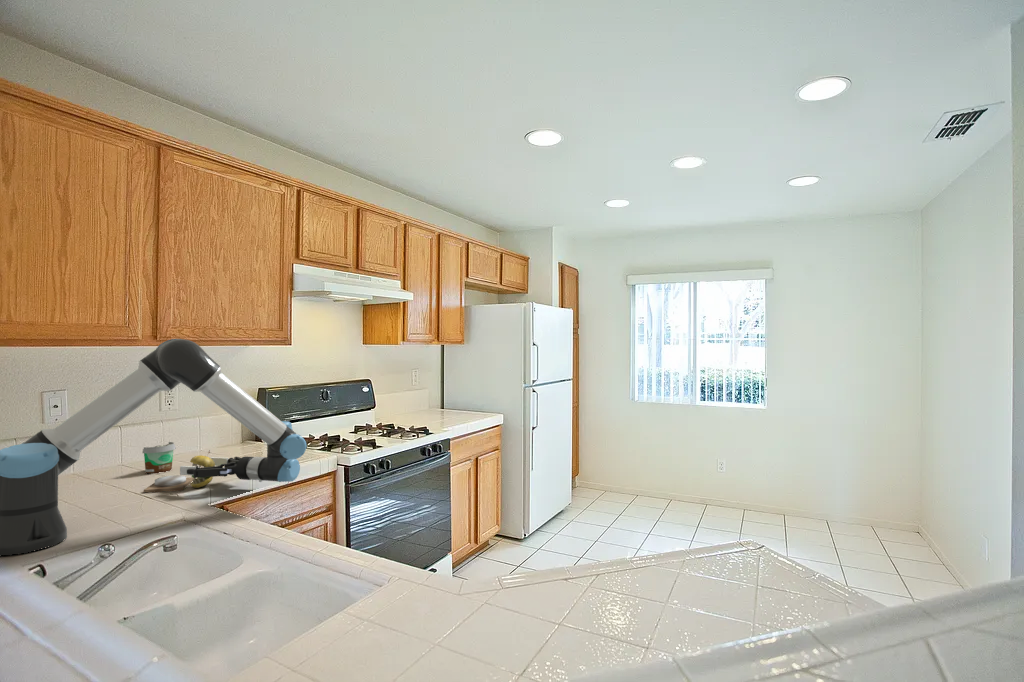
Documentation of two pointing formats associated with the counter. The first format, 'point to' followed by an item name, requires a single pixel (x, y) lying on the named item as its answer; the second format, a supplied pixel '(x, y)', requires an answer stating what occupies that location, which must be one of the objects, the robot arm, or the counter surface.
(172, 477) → the soap dish
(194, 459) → the hamburger
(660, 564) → the counter surface
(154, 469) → the food container
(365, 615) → the counter surface
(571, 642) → the counter surface
